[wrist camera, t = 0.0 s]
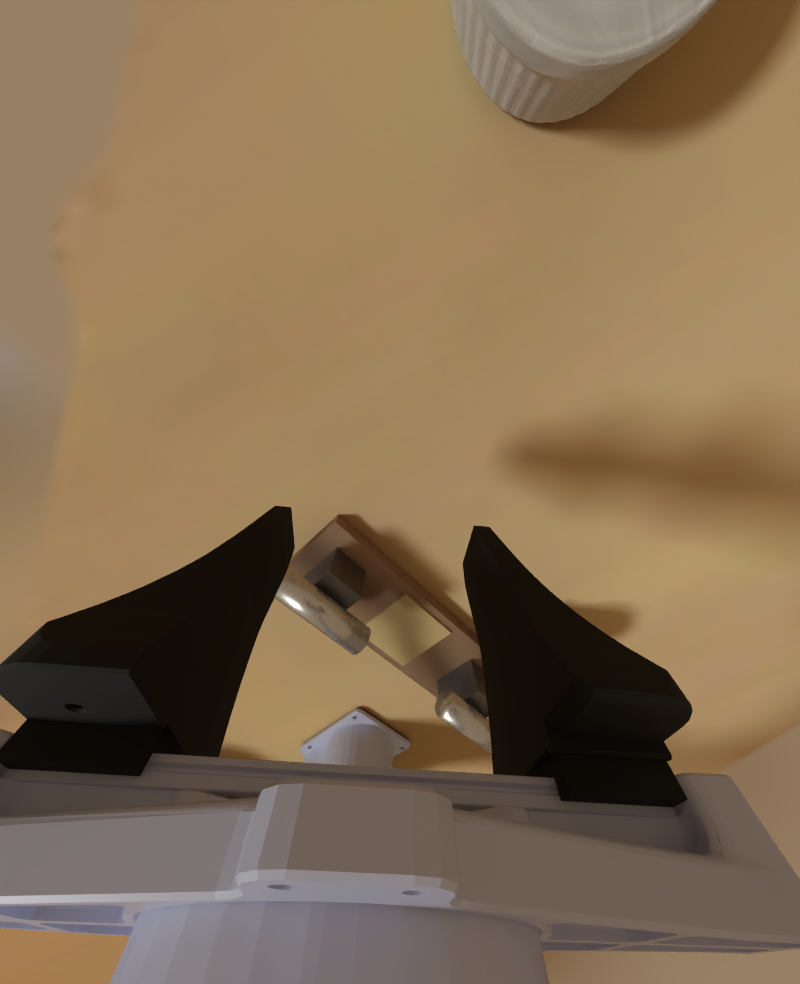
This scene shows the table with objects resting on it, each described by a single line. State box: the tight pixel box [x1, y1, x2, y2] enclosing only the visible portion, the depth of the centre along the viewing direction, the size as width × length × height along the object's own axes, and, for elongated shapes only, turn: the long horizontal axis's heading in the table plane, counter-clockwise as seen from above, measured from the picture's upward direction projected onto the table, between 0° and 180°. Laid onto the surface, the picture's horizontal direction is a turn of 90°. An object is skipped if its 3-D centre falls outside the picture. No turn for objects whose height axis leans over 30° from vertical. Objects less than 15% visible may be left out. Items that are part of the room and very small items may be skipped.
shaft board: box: [288, 515, 483, 698], centre depth 27 cm, size 7×22×1 cm, turn 43°
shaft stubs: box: [275, 548, 492, 755], centre depth 24 cm, size 4×23×5 cm, turn 43°
